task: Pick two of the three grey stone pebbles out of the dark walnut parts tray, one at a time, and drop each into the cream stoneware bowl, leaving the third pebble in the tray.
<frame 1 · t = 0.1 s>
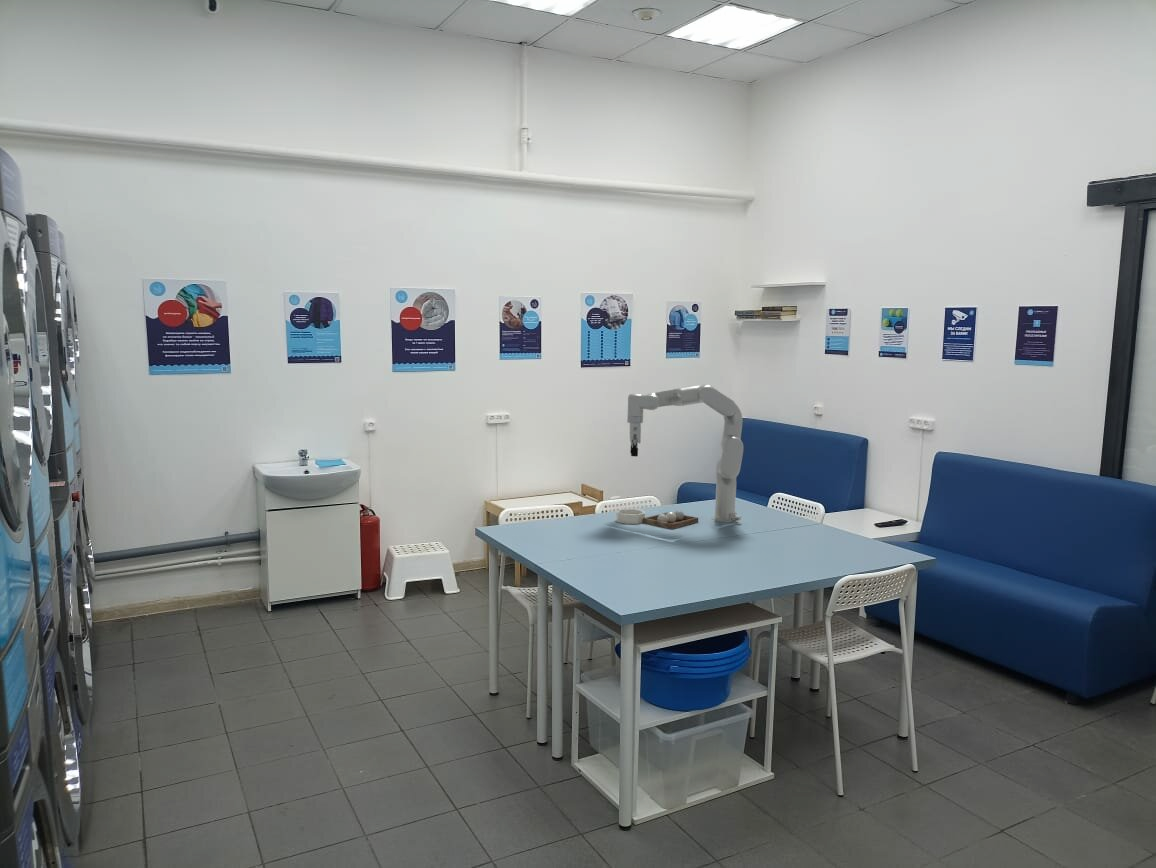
hand: (634, 454, 392), 31 cm above the table, tool pointing down, fingers open, 9 cm apart
tray: (670, 524, 384), on the table
bowl: (630, 522, 386), on the table
pebble b: (670, 522, 384), point 1 cm above the table, touching tray
pebble a: (662, 524, 379), point 1 cm above the table, touching tray
pebble c: (678, 520, 388), point 1 cm above the table, touching tray
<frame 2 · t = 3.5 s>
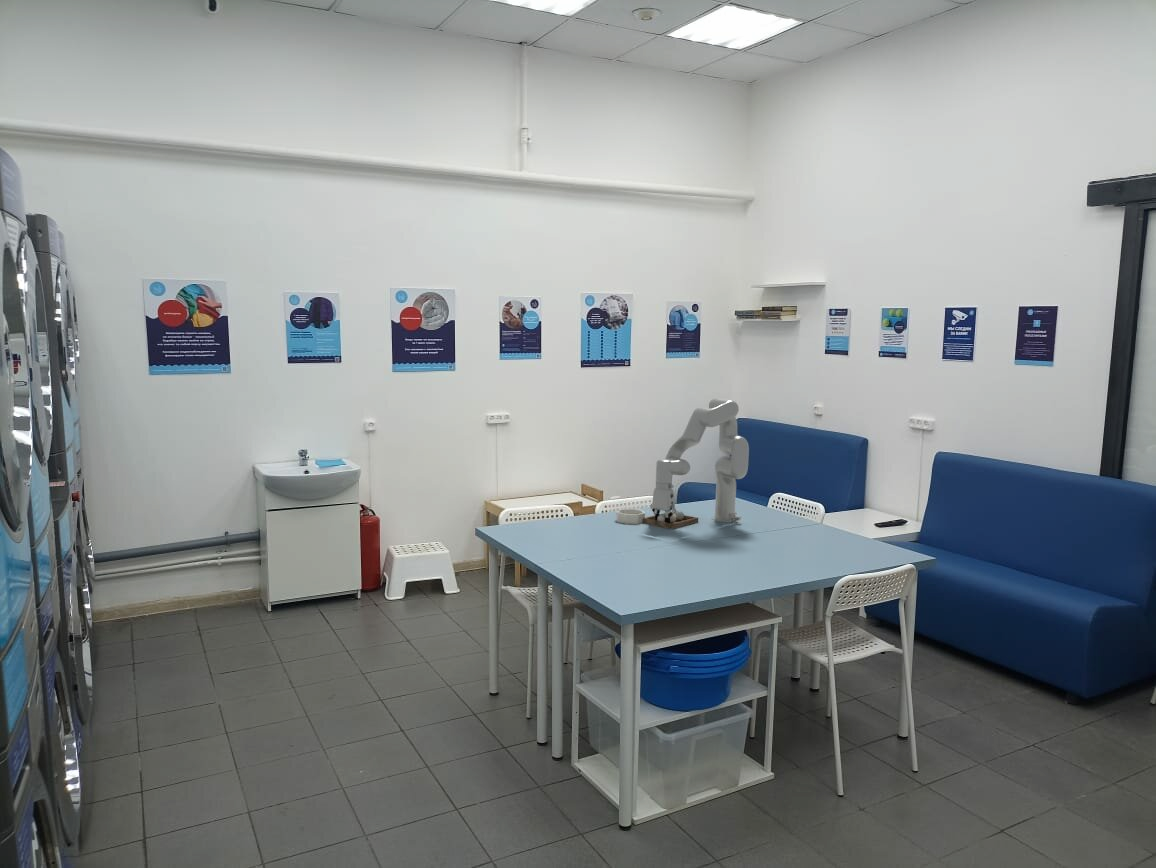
hand: (662, 523, 379), 1 cm above the table, tool pointing down, fingers closed on pebble a, 4 cm apart
pebble a: (662, 524, 379), point 1 cm above the table, touching gripper, tray
everything else where it was.
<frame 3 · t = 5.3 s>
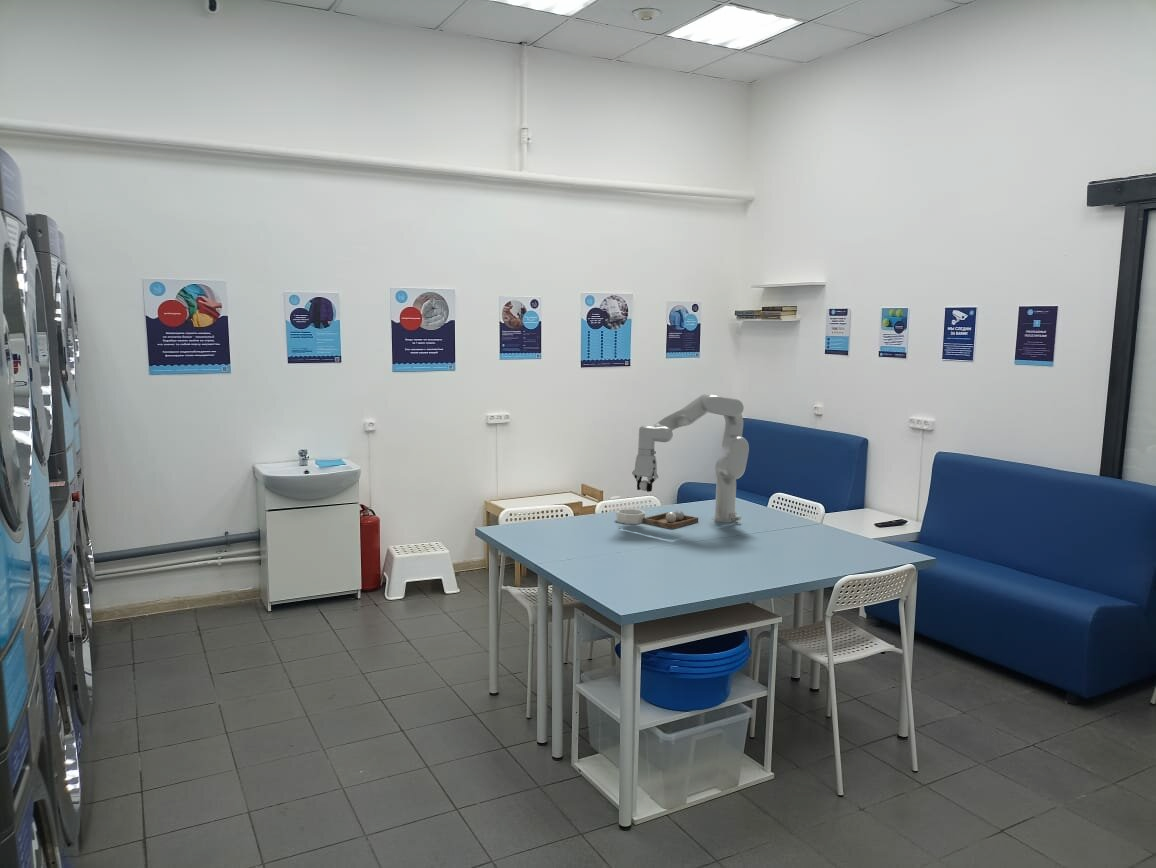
hand: (644, 490, 382), 16 cm above the table, tool pointing down, fingers closed on pebble a, 4 cm apart
pebble a: (644, 490, 382), point 16 cm above the table, touching gripper
everything else where it was.
when the fingers open (6 cm above the table, at t = 7.1 s): pebble a drops 5 cm, resting on bowl.
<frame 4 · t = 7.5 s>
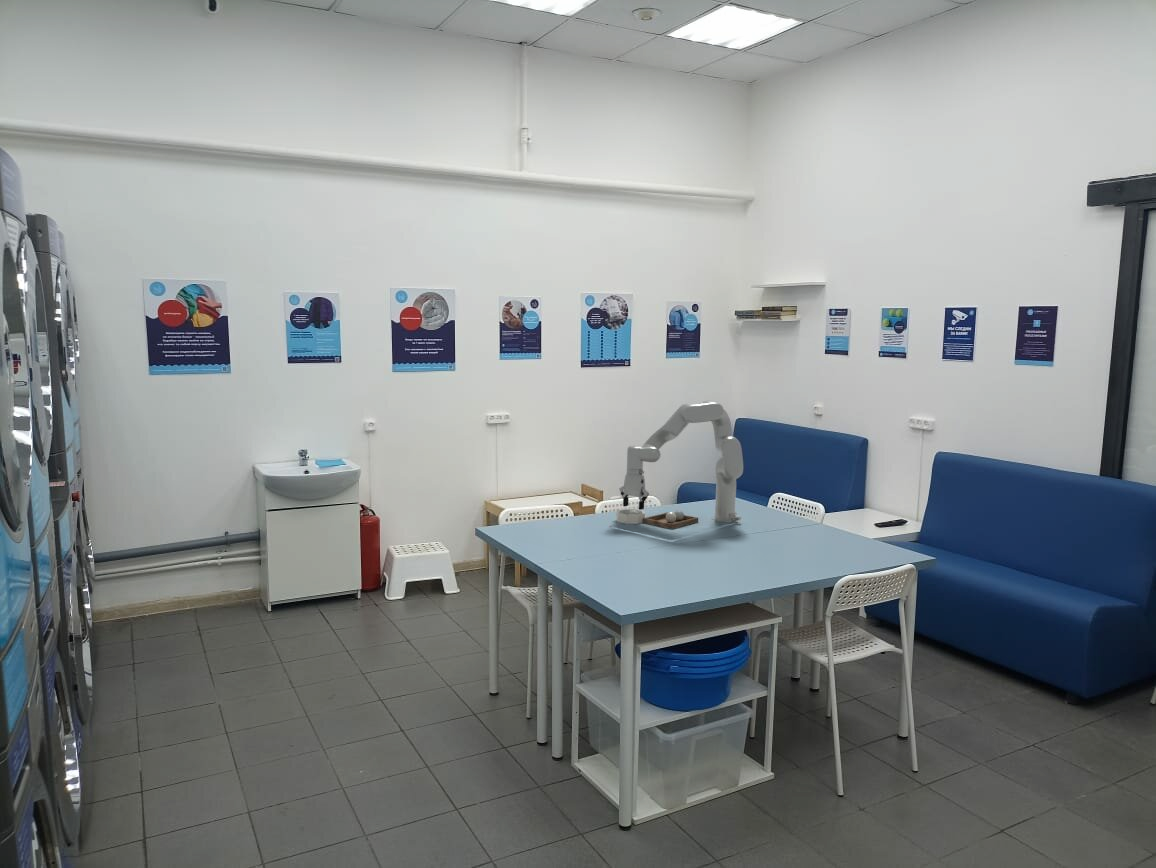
hand: (633, 507, 387), 7 cm above the table, tool pointing down, fingers open, 9 cm apart
pebble a: (632, 520, 387), point 1 cm above the table, tilted 5°, touching bowl
everything else where it was.
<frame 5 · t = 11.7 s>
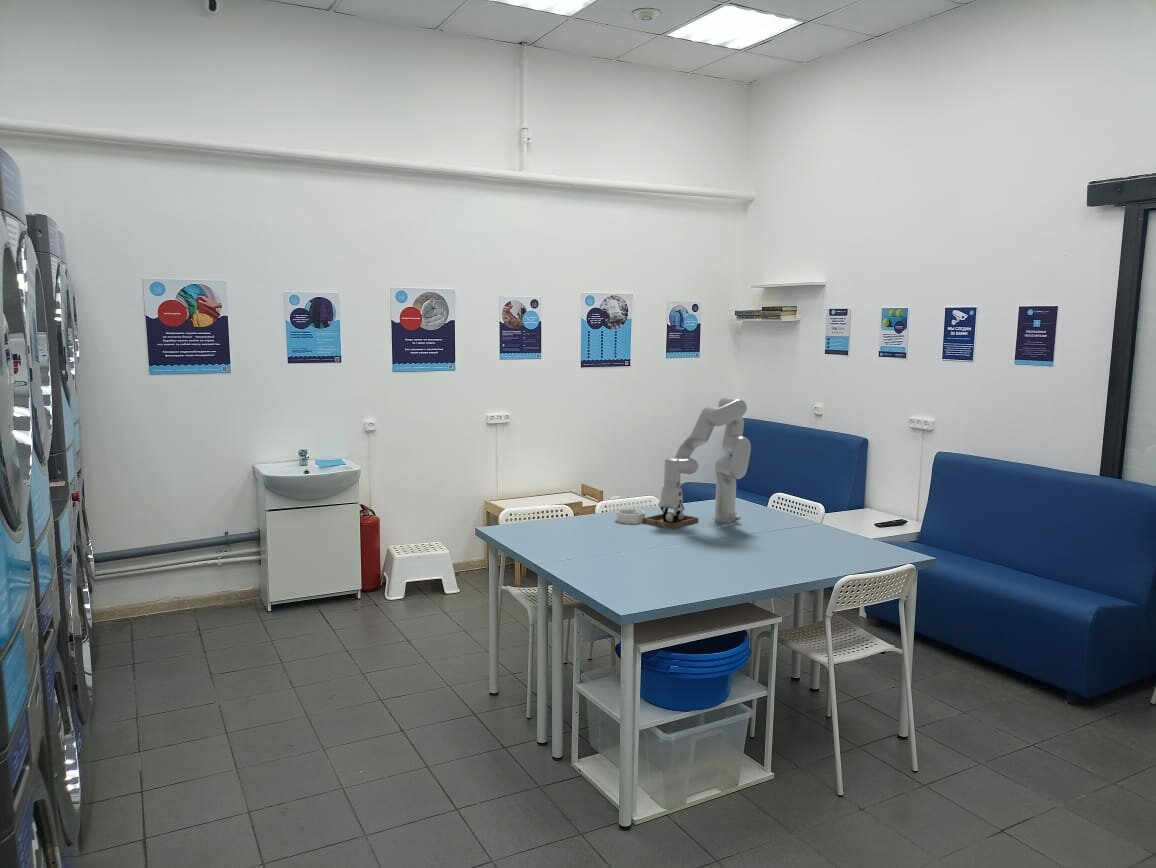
hand: (670, 521, 383), 1 cm above the table, tool pointing down, fingers closed on pebble b, 4 cm apart
pebble b: (670, 522, 384), point 1 cm above the table, touching gripper, tray
pebble a: (633, 518, 387), point 2 cm above the table, tilted 55°, touching bowl
everything else where it was.
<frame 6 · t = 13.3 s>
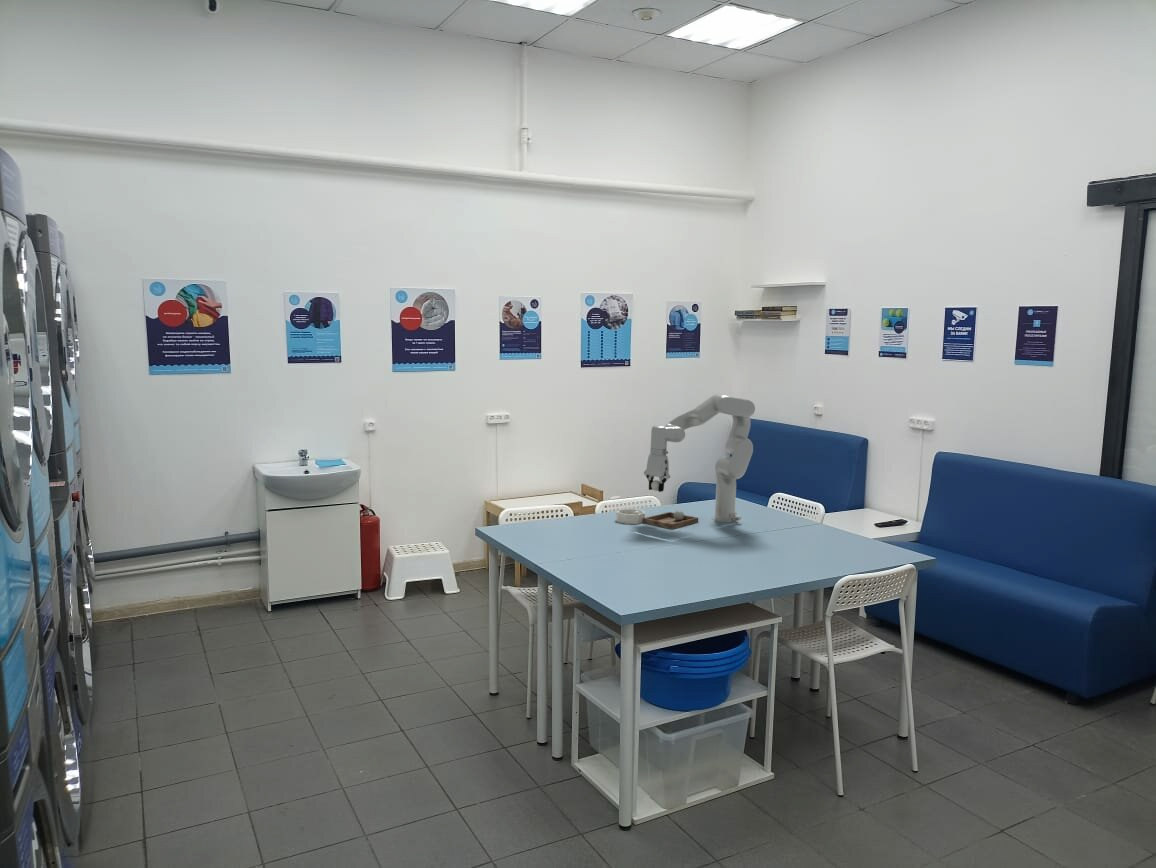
hand: (656, 490, 382), 16 cm above the table, tool pointing down, fingers closed on pebble b, 4 cm apart
pebble b: (656, 490, 382), point 16 cm above the table, touching gripper
everything else where it was.
when the fingers open (6 cm above the table, at t = 15.4 s): pebble b drops 3 cm and tips over, resting on bowl.
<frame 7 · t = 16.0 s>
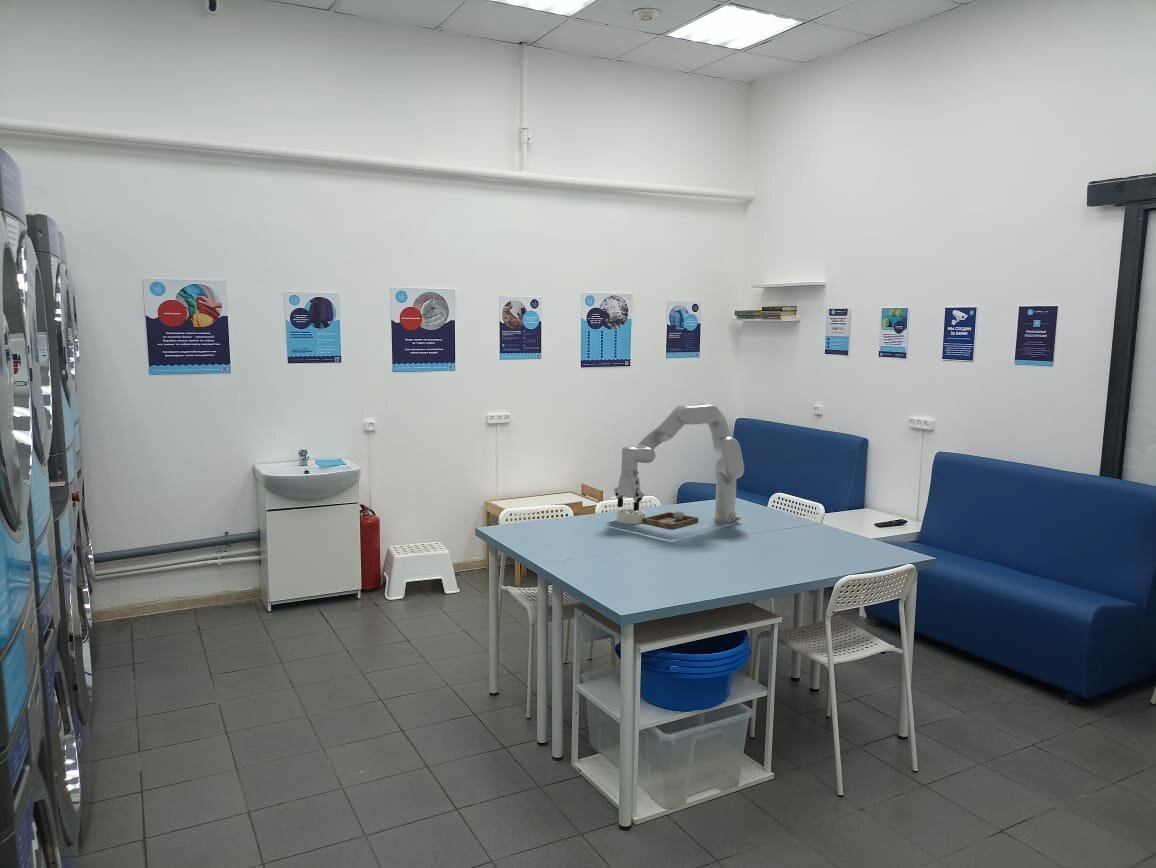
hand: (628, 508, 384), 7 cm above the table, tool pointing down, fingers open, 9 cm apart
pebble b: (630, 517, 385), point 2 cm above the table, tilted 74°, touching bowl
everything else where it was.
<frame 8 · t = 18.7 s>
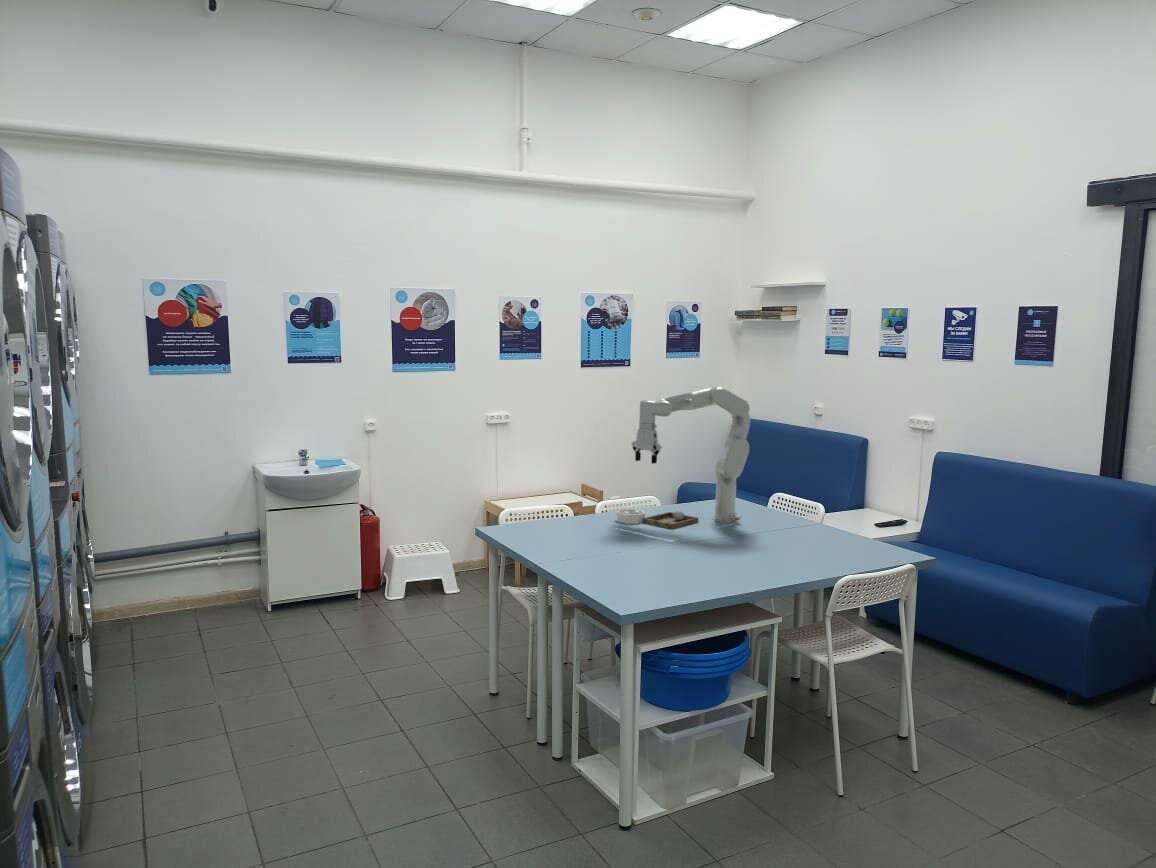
hand: (645, 462, 388), 28 cm above the table, tool pointing down, fingers open, 9 cm apart
pebble a: (633, 519, 387), point 1 cm above the table, tilted 40°, touching bowl
everything else where it was.
at the end: pebble a inside the target area on the bowl (2.0 cm from its centre), point 1.2 cm above the bowl's base; pebble b inside the target area on the bowl (0.3 cm from its centre), point 2.3 cm above the bowl's base; pebble c moved 0.2 cm from its start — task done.
